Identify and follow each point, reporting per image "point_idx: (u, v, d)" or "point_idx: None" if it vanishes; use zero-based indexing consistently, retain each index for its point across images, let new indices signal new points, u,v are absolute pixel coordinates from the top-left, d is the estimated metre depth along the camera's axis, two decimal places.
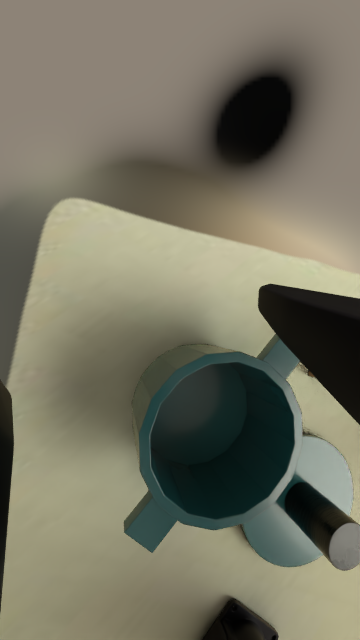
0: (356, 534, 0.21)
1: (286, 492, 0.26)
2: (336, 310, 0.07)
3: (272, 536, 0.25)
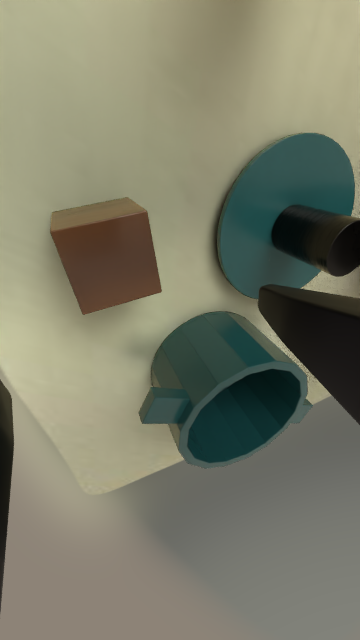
0: (342, 242, 0.16)
1: (280, 252, 0.22)
2: (336, 310, 0.07)
3: None
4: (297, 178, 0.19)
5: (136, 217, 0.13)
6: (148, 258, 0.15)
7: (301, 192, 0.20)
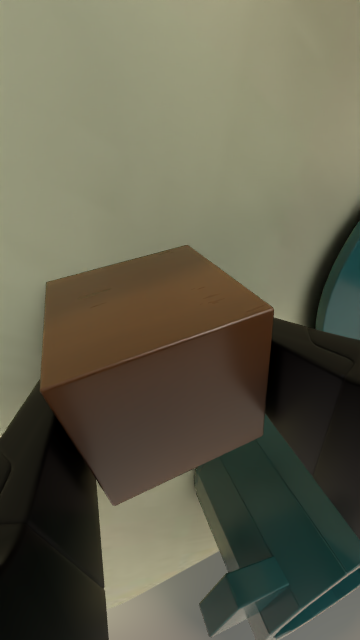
0: None
1: None
2: None
3: None
4: None
5: (249, 325, 0.05)
6: (254, 392, 0.07)
7: None
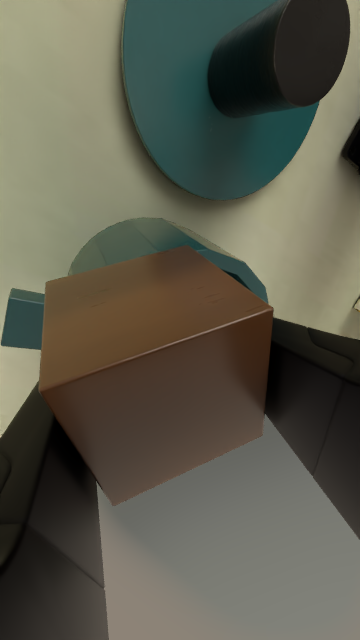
0: (296, 26, 0.10)
1: (226, 118, 0.16)
2: None
3: (284, 124, 0.17)
4: None
5: (249, 325, 0.05)
6: (254, 392, 0.07)
7: (246, 8, 0.13)
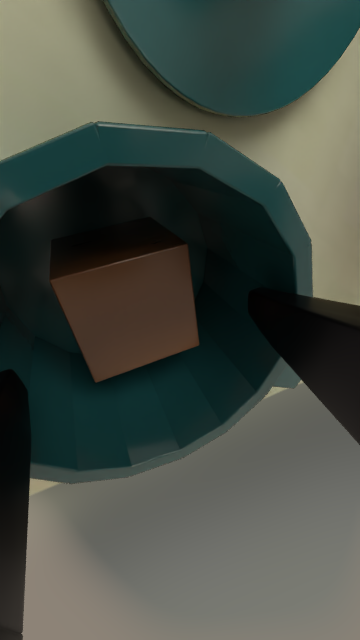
0: None
1: None
2: (322, 315, 0.07)
3: None
4: None
5: (173, 254, 0.09)
6: (185, 305, 0.10)
7: None
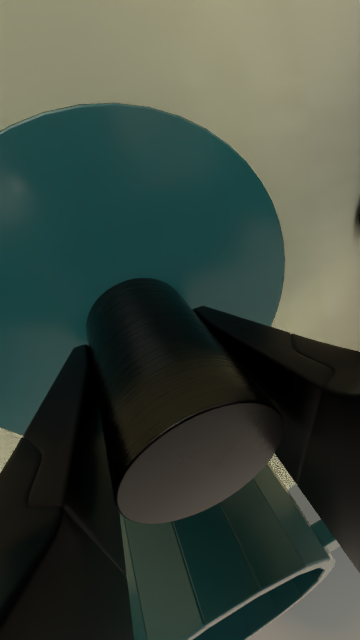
0: (155, 492, 0.05)
1: None
2: (248, 343, 0.07)
3: (241, 298, 0.11)
4: (52, 258, 0.07)
5: None
6: None
7: (93, 267, 0.08)
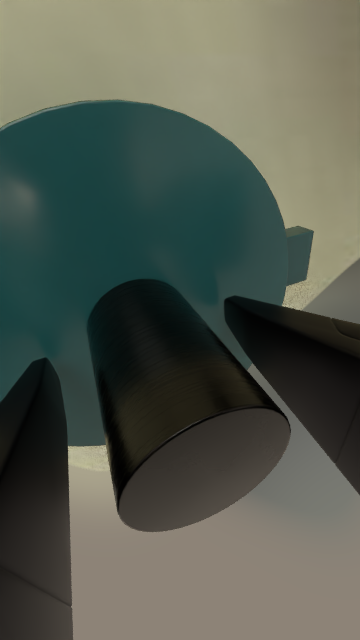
0: (159, 500, 0.05)
1: None
2: (290, 327, 0.07)
3: None
4: (52, 258, 0.07)
5: None
6: None
7: (95, 268, 0.08)
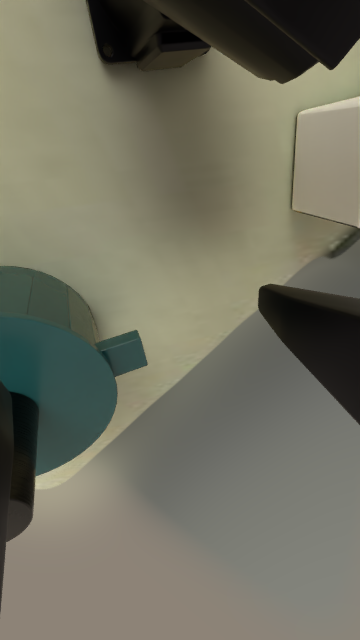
0: None
1: None
2: (336, 310, 0.07)
3: (81, 391, 0.16)
4: None
5: None
6: None
7: None
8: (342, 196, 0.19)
